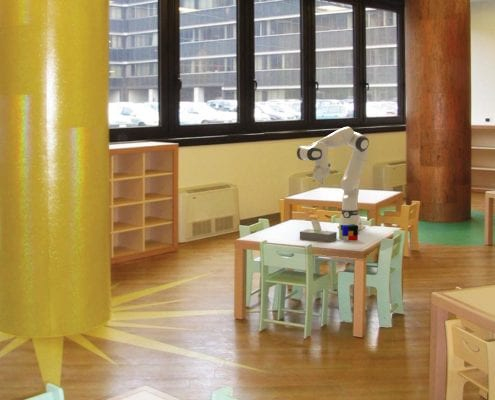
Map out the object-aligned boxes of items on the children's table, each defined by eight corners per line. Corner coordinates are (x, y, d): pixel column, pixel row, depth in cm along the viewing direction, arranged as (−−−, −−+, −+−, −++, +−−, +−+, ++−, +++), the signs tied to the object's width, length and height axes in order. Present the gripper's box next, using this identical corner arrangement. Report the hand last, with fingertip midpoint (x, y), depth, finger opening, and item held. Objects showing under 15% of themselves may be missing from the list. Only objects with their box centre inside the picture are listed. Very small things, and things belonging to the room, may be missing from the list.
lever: (314, 229, 569) (310, 214, 562) (322, 229, 566) (318, 215, 559) (313, 231, 567) (308, 216, 560) (321, 232, 564) (316, 217, 557)
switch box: (307, 236, 578) (307, 228, 578) (336, 239, 567) (336, 231, 567) (299, 238, 568) (299, 231, 568) (328, 241, 557) (329, 234, 556)
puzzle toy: (343, 241, 561) (343, 226, 560) (339, 238, 571) (339, 224, 570) (357, 240, 563) (358, 225, 562) (353, 237, 573) (353, 223, 572)
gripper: (318, 166, 570) (318, 186, 572) (331, 164, 587) (331, 183, 589) (310, 165, 573) (310, 185, 575) (323, 163, 590) (323, 183, 592)
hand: (321, 184), depth 582 cm, fingers closed
